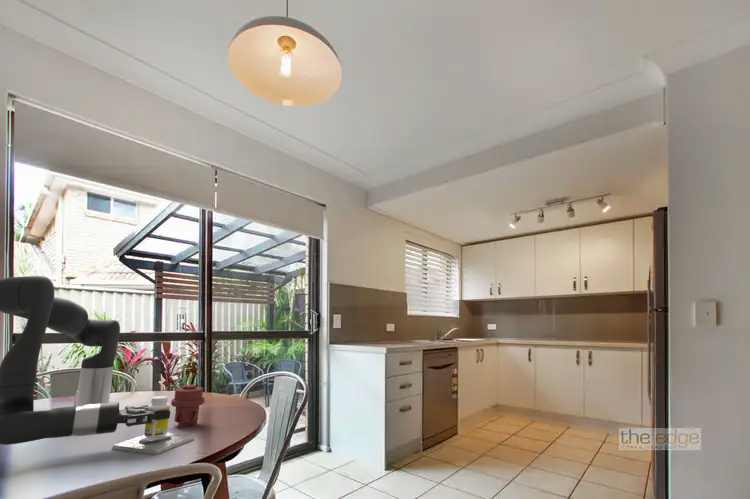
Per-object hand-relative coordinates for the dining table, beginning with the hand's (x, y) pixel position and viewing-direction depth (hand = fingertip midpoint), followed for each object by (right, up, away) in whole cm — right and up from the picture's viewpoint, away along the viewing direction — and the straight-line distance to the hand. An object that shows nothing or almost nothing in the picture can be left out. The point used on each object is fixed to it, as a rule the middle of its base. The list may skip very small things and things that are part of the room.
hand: (168, 411), depth 113 cm
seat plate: (-2, -8, -3) cm, 8 cm away
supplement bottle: (-2, -6, -2) cm, 7 cm away
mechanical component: (-3, -11, +17) cm, 20 cm away
